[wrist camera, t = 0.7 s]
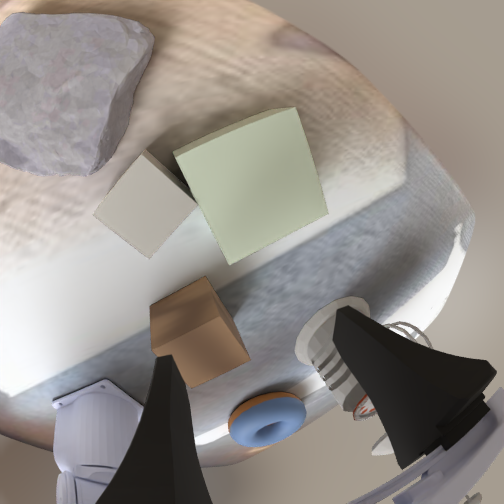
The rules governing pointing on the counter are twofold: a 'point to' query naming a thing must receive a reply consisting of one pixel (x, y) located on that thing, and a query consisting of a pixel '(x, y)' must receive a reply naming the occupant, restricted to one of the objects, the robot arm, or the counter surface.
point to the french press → (345, 366)
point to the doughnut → (266, 419)
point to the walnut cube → (196, 333)
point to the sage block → (254, 181)
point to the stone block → (67, 89)
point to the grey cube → (146, 205)
